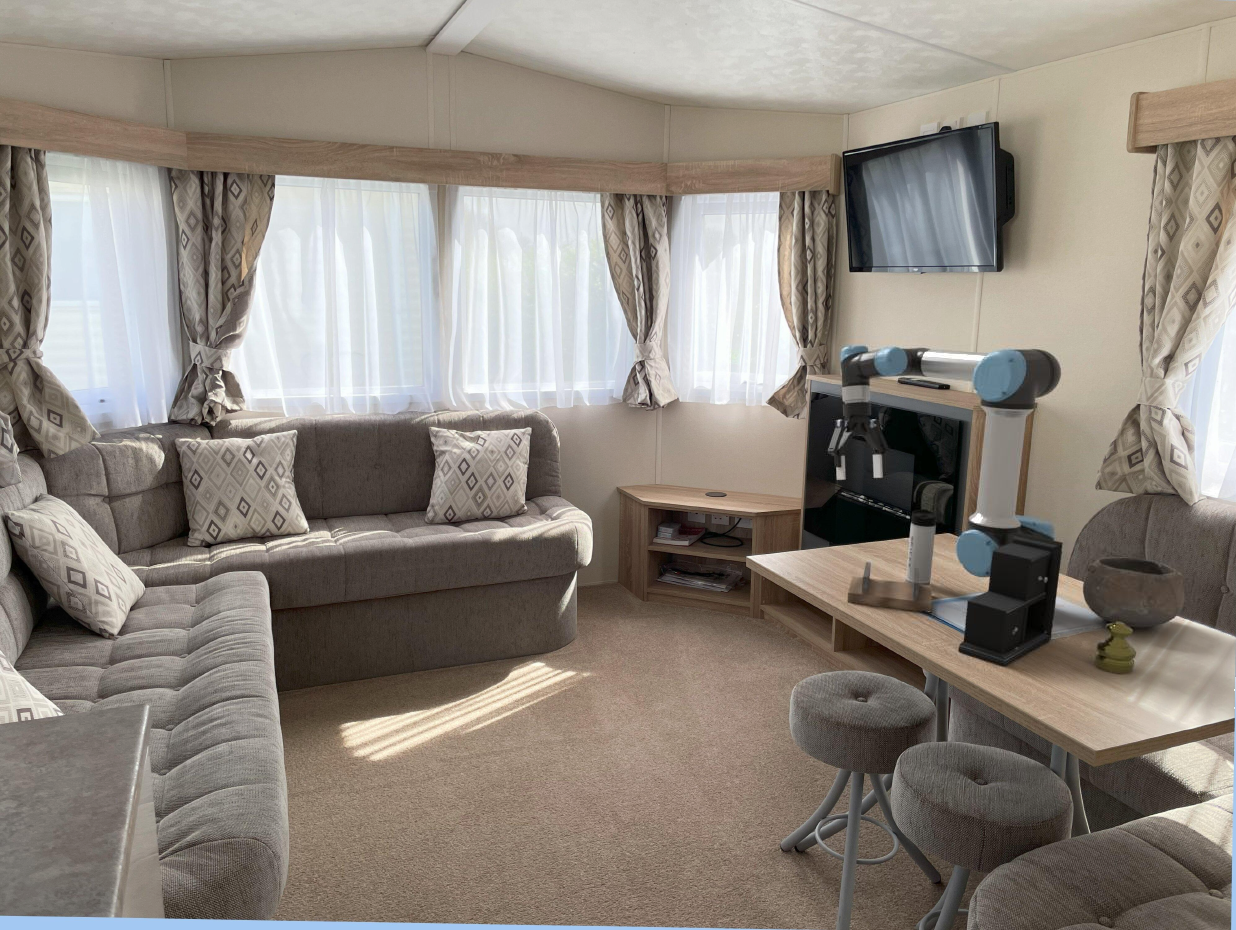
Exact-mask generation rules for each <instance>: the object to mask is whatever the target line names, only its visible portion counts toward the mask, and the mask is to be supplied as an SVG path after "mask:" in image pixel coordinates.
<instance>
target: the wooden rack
mask: <svg viewBox="0 0 1236 930" xmlns="http://www.w3.org/2000/svg"><path fill="white" fill-rule="evenodd" d="M871 567H872V562H869V561H866V562H865V566H864V571H863V576H862V577H861V576H854V575H853V576H851V579H850V583H849V587H848V591H847V601H851V602H850V603H852V602H857V603H856V604H860V603H864V604H863V605H867V604H868V605H869V606H875V607H877V606H878V607H885V608H891V609H899V610H906V611H907V610H908V611H914V612H915V611H916V612H923V611H931V612H932V602H933V601H932V600H933V598H932V597H933V595H932V586H931V585H929V586H928V585H920V584H919V573H920V568H915V570H914V581H913V584H912V583H906V582H903V581H894V580H888V579H886V580H885V579H878V578H870V576H871Z"/></svg>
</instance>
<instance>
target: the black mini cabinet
mask: <svg viewBox="0 0 1236 930" xmlns="http://www.w3.org/2000/svg"><path fill="white" fill-rule="evenodd" d="M1062 550H1063V542H1061V541H1058V540H1054V541H1053V540H1049V539H1044V538H1040V537H1035V536H1031V535H1026V534H1021V533H1015V534H1014V536H1013V542H1012V543H1010V544H1008V545H1005V546H1002V547H1000V548H997V549H995V550H993V554H992V562H991V570H990V577H989V580H988V581H989V582H988V589H987V591H985V592H983V593H980V594H979V595H977V596H974V597H972V598H970V599H968V600H967V605H966V615H965V624H964V634H963V641H962V642H960V643H959V645H958V649H957V650H958V652H959V653H961V654H964V655H967V656H970V657H974V658H976V659H980V660H983V661H986V662H988V663H992V664H995V665H998V666H1000V667H1004V668H1005V667H1006V666H1008V665H1010V664H1011V663H1014V662H1015V661H1017V660H1019V659H1020V658H1022V657H1024V656H1025V655H1028V654H1029V653H1031V652H1032V651H1034V650H1036V649H1037V648H1040V647H1041V646H1042V645H1044V644H1046V643H1048V642H1049V641H1050V640H1051V639H1052V635H1053V634H1052V633H1053V626H1054V617H1055V609H1056V603H1057V602H1056V601H1057V595H1058V594H1057V593H1058V587H1059V579H1060V571H1061V569H1060V568H1061V564H1062V563H1061V561H1062V555H1063V551H1062Z"/></svg>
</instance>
